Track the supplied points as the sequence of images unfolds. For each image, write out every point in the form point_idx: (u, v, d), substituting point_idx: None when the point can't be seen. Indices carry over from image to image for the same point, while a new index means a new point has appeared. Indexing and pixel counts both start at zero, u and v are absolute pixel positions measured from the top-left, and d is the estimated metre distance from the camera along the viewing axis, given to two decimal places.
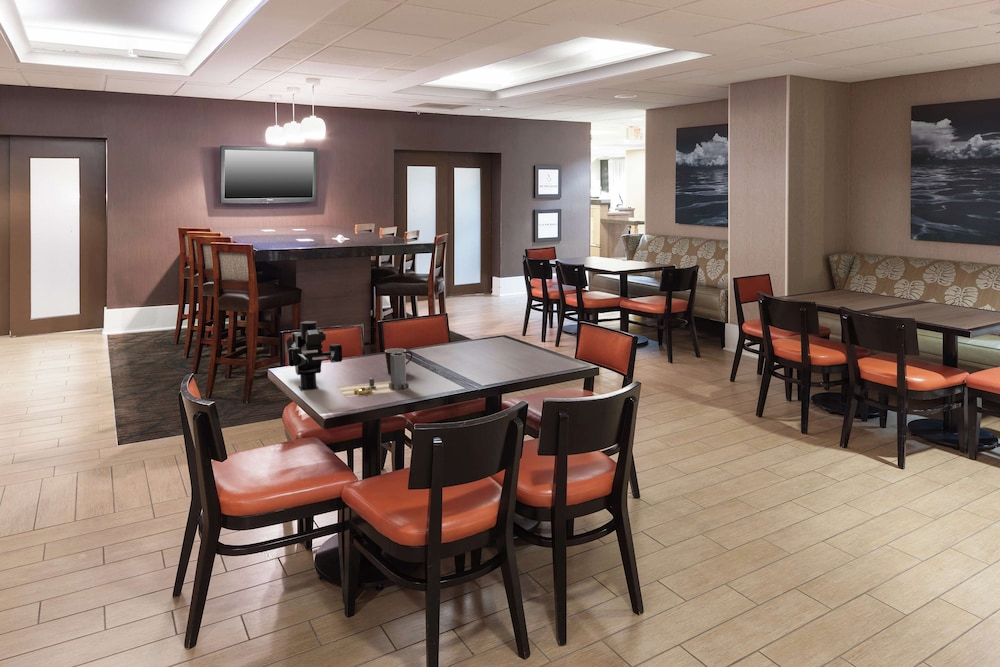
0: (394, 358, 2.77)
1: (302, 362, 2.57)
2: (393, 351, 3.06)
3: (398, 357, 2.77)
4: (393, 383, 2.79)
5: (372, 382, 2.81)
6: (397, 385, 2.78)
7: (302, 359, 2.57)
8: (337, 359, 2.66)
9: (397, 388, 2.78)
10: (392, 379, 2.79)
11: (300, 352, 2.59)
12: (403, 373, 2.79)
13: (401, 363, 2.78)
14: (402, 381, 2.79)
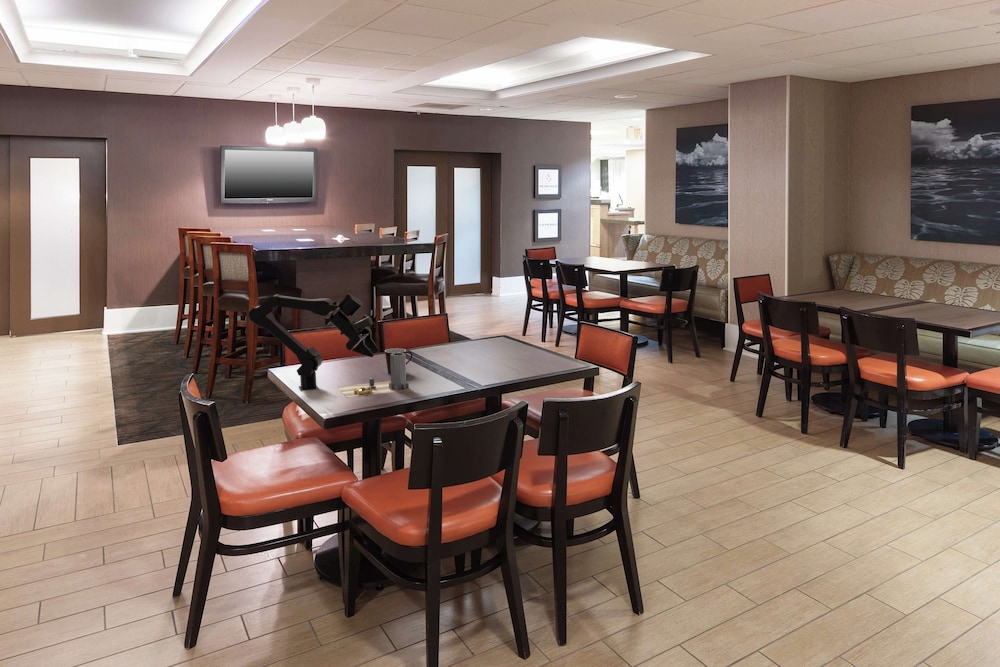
0: (394, 358, 2.77)
1: (365, 354, 2.73)
2: (393, 351, 3.06)
3: (398, 357, 2.77)
4: (393, 383, 2.79)
5: (372, 382, 2.81)
6: (397, 385, 2.78)
7: (368, 352, 2.73)
8: None
9: (397, 388, 2.78)
10: (392, 379, 2.79)
11: (364, 342, 2.73)
12: (403, 373, 2.79)
13: (401, 363, 2.78)
14: (402, 381, 2.79)
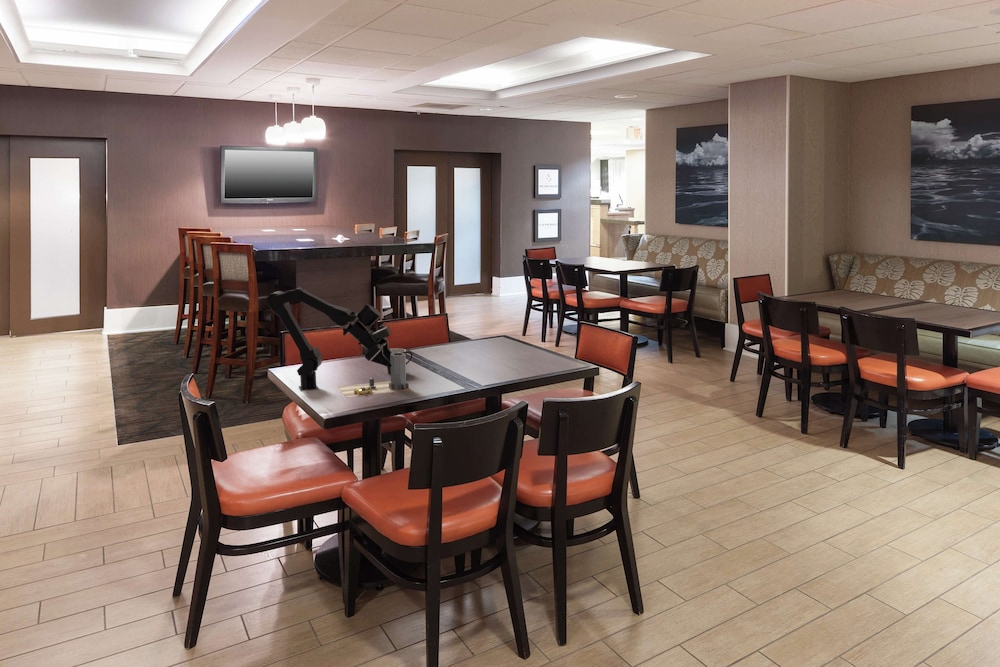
0: (394, 358, 2.77)
1: (384, 364, 2.75)
2: (393, 351, 3.06)
3: (398, 357, 2.77)
4: (393, 383, 2.79)
5: (372, 382, 2.81)
6: (397, 385, 2.78)
7: (386, 362, 2.75)
8: None
9: (397, 388, 2.78)
10: (392, 379, 2.79)
11: (382, 352, 2.74)
12: (403, 373, 2.79)
13: (401, 363, 2.78)
14: (402, 381, 2.79)
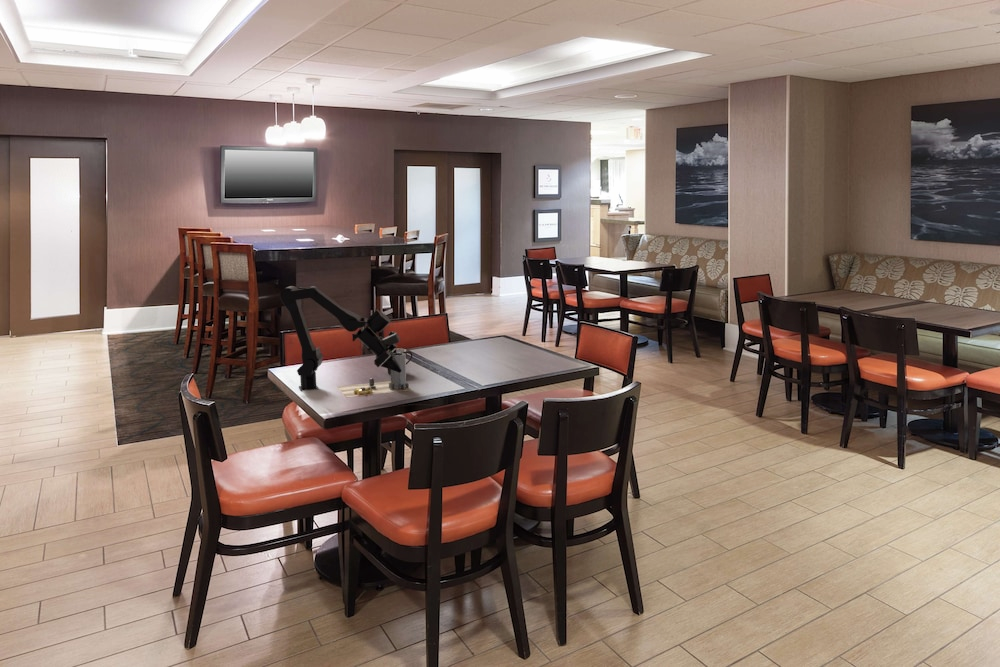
0: (394, 358, 2.77)
1: (394, 369, 2.77)
2: None
3: (398, 357, 2.77)
4: (393, 383, 2.79)
5: (372, 382, 2.81)
6: (397, 385, 2.78)
7: (396, 367, 2.77)
8: None
9: (397, 388, 2.78)
10: (392, 379, 2.79)
11: (392, 358, 2.76)
12: (403, 373, 2.79)
13: (401, 363, 2.78)
14: (402, 381, 2.79)
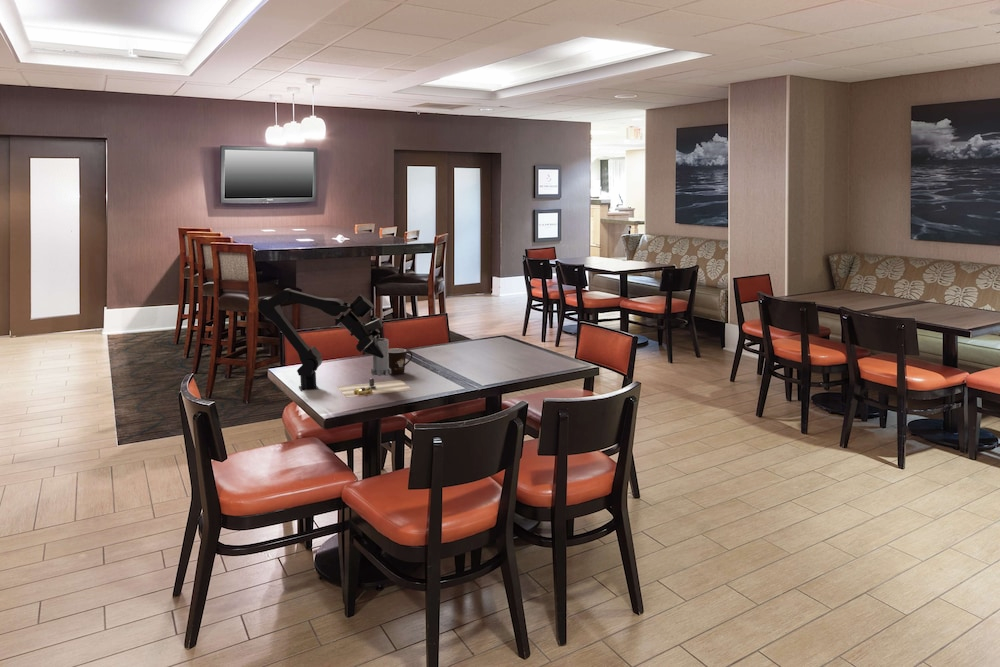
0: (377, 343, 2.76)
1: (376, 354, 2.76)
2: (393, 351, 3.06)
3: (381, 342, 2.76)
4: (375, 369, 2.79)
5: (372, 382, 2.81)
6: (379, 371, 2.78)
7: (378, 353, 2.76)
8: None
9: (379, 374, 2.77)
10: (374, 365, 2.79)
11: (375, 343, 2.75)
12: (385, 359, 2.78)
13: (384, 349, 2.77)
14: (384, 367, 2.78)
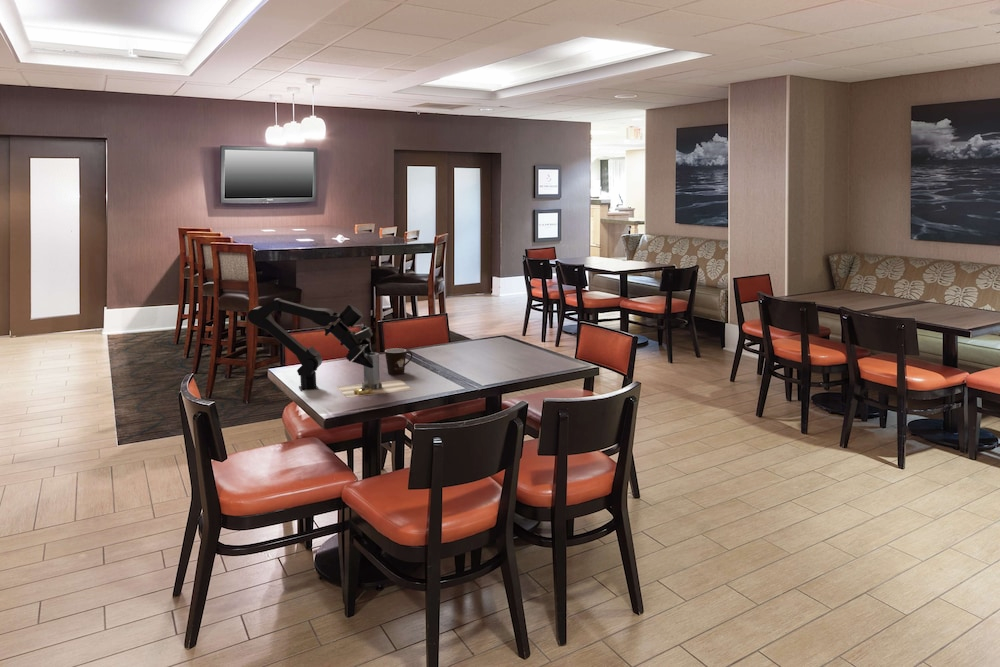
0: None
1: (365, 365, 2.75)
2: (393, 351, 3.06)
3: (371, 357, 2.77)
4: (366, 383, 2.80)
5: None
6: (370, 385, 2.79)
7: (368, 363, 2.75)
8: None
9: (370, 388, 2.79)
10: (365, 379, 2.80)
11: (364, 353, 2.74)
12: (376, 373, 2.79)
13: (374, 363, 2.78)
14: (375, 381, 2.80)
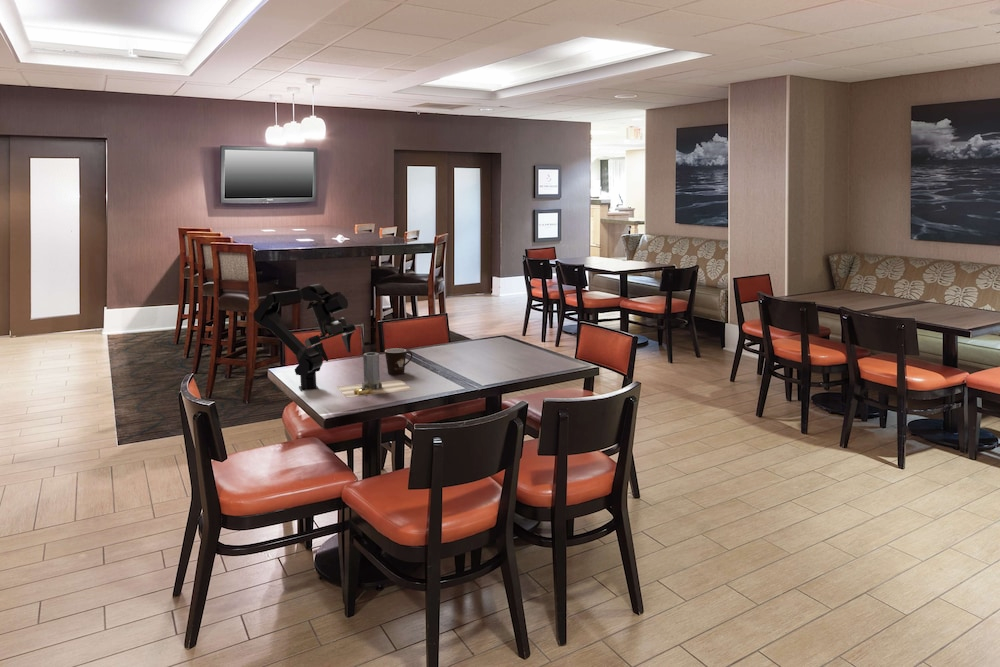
0: (367, 358, 2.77)
1: (322, 356, 2.73)
2: (393, 351, 3.06)
3: (371, 357, 2.77)
4: (366, 383, 2.80)
5: None
6: (370, 385, 2.79)
7: (323, 355, 2.72)
8: None
9: (370, 388, 2.79)
10: (365, 379, 2.80)
11: (321, 346, 2.70)
12: (376, 373, 2.79)
13: (374, 363, 2.78)
14: (375, 381, 2.80)
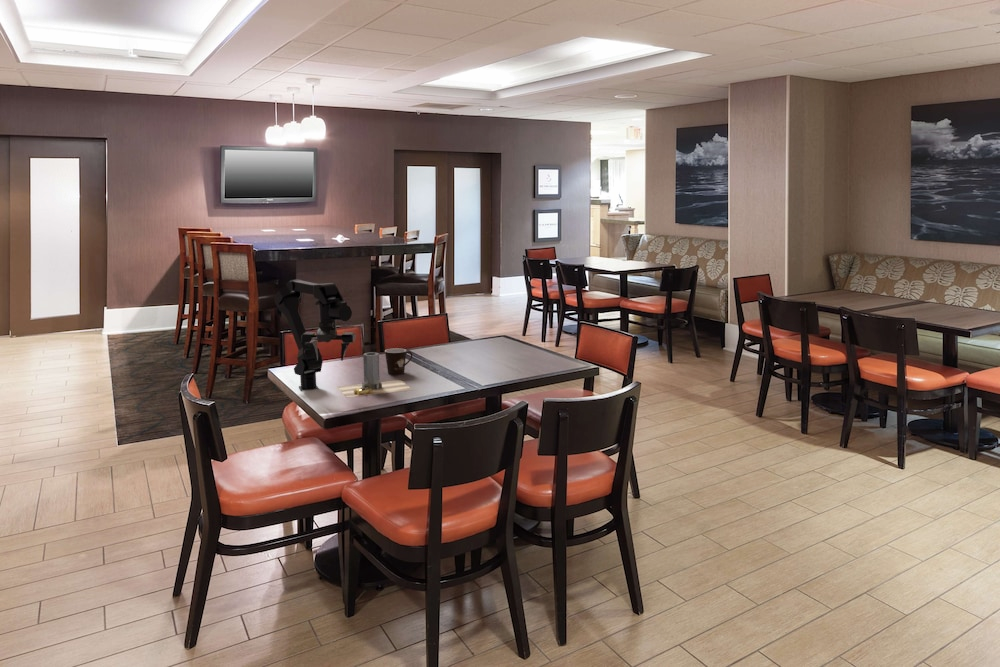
0: (367, 358, 2.77)
1: None
2: (393, 351, 3.06)
3: (371, 357, 2.77)
4: (366, 383, 2.80)
5: None
6: (370, 385, 2.79)
7: None
8: None
9: (370, 388, 2.79)
10: (365, 379, 2.80)
11: (312, 346, 2.69)
12: (376, 373, 2.79)
13: (374, 363, 2.78)
14: (375, 381, 2.80)
